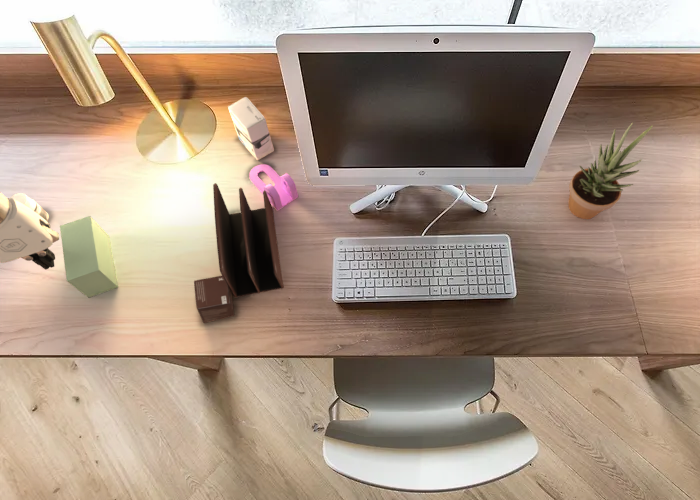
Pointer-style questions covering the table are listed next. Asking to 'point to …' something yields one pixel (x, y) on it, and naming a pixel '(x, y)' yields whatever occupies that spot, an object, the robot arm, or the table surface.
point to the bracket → (282, 189)
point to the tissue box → (88, 257)
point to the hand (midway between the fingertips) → (49, 261)
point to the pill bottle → (31, 204)
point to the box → (213, 299)
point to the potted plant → (601, 180)
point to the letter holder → (247, 246)
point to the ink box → (251, 128)
